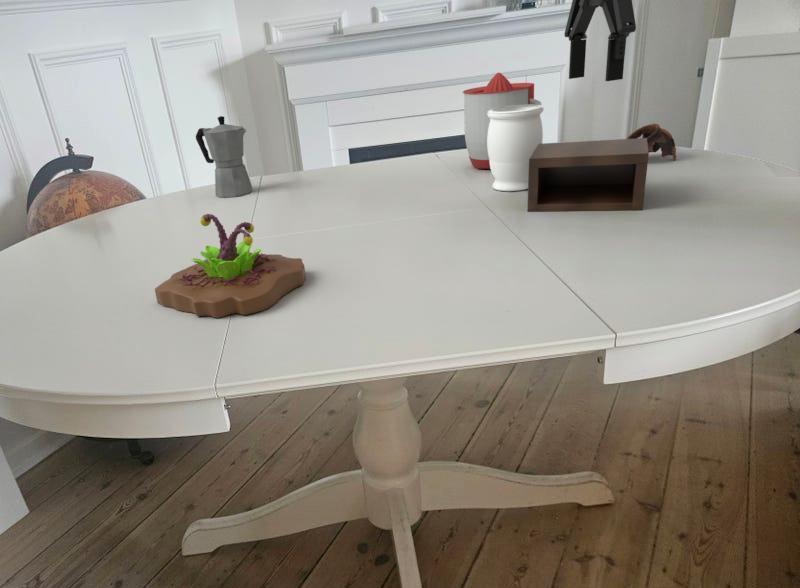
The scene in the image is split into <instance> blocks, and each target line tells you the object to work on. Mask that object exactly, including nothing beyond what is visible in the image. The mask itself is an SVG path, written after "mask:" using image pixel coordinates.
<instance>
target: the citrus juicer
mask: <svg viewBox="0 0 800 588" xmlns="http://www.w3.org/2000/svg"><path fill="white" fill-rule="evenodd" d="M462 93H463V110H464V111H463V112H464V113H463V114H464V115H463V116H464V120H463V121H464V140H465V145H466V146H465V147H466V150H467V153H468V158H469V161H470V163H471V165H472V167H474V168H476V169H477V170H485V169H490V162H489V156H488V149H487V135H488V128H489V123H490V118H489V117H488V115H487V113H488V112H487V111H489V110H492V109H495V108H500V107H505V106H513V105H527V104H534V105H542V106H543V104H542V102H541V101H540V100H538V99H535V83H533V82H512V83H511V82H510V81H509V80H508V78H507V77H506V76H505V75H504V74H502V72H497V73H495V74H494V76H492V78H491V79H490V80H489V82H488V83H487V84H486V85H484V86H477V87H472V88H468V89H465V90H463V91H462Z"/></svg>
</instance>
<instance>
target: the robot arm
mask: <svg viewBox="0 0 800 588" xmlns="http://www.w3.org/2000/svg"><path fill="white" fill-rule="evenodd" d="M599 7H600V8H601V9H602V11H603V15H604V17H605V20H606V23H607V27H608V29H609V35H608V37H607V51H606V52H607V53H606V67H605V79H604V80H605V82H611V81H612V82H613V81H620V80H623V79H624V69H625V68H624V66H625V57H626V45H627V37H629V36H630V34H632V33H635V32H636V31H637V24H636V17H635V11H634V6H633V0H572V1H571V6H570V10H569V13H568V17H567V21H566V25H565V29H564V34H563V35H564V38H568V41H569V42H570V44H569V45H570V48H569V68H568V79H569V80H572V79H578V78H585V70H586V69H585V68H586V53H587V39H588V36H587V34H586V33H587V30H588V28H589V26H590V24H591V21H592V18H593V16H594V14H595V12H596V9H597V8H599Z"/></svg>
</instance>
